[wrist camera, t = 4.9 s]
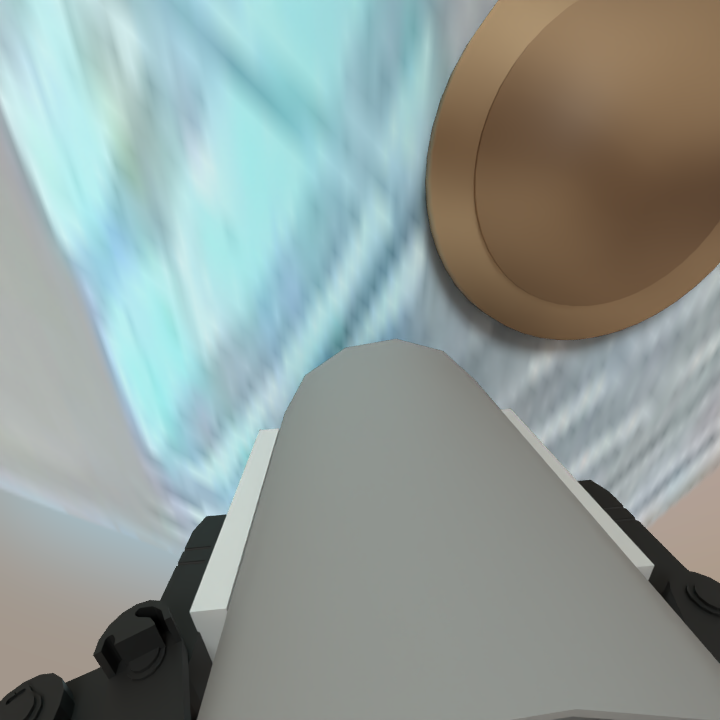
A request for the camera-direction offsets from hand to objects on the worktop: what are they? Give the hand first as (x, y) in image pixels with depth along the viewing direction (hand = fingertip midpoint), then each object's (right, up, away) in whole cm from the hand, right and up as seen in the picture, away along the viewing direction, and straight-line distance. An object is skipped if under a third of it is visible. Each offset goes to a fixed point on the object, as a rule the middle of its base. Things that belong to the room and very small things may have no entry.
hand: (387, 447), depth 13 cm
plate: (+7, +10, -2) cm, 13 cm away
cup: (0, +1, 0) cm, 1 cm away
